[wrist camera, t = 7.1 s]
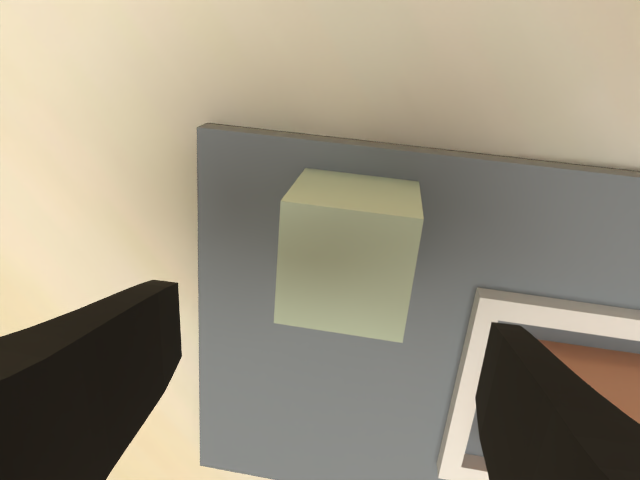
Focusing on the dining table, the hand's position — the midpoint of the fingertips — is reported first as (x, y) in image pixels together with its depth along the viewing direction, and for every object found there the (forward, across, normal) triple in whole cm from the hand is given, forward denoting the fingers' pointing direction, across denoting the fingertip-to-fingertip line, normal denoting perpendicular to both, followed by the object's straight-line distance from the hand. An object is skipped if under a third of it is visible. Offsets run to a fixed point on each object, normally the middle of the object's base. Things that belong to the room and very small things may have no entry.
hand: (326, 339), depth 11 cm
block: (+8, 0, 0) cm, 8 cm away
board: (+8, -5, +5) cm, 11 cm away
